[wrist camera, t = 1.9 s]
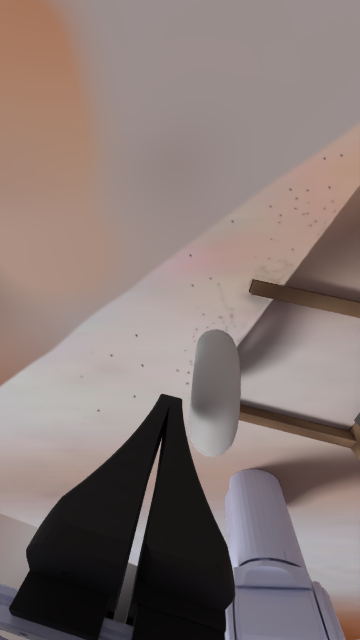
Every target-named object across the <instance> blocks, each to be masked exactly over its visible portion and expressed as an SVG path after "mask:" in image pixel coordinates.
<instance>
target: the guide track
mask: <svg viewBox="0 0 360 640" xmlns="http://www.w3.org/2000/svg"><path fill="white" fill-rule="evenodd" d="M249 292H250V293H251V294H252V295H257V296H262V297H266V298H271V299H275V300H280V301H285V302H289V303H294V304H298V305H303V306H308V307H312V308H317V309H321V310H326V311H331V312H335V313H340V314H344V315H349V316H354V317H358V318H360V302H358V301H353V300H348V299H344V298H339V297H334V296H329V295H325V294H320V293H315V292H311V291H306V290H301V289H297V288H292V287H287V286H282V285H278V284H273V283H268V282H264V281H259V280H254V279H253V281H252V284H251V287H250V289H249ZM239 420H241V421H245V422H249V423H253V424H257V425H261V426H265V427H269V428H273V429H277V430H281V431H285V432H288V433H292V434H296V435H300V436H304V437H308V438H312V439H316V440H320V441H324V442H328V443H332V444H336V445H340V446H344V447H348V448H351V449H352V451H353V452H354V453H355V455H356V456H357V457H358V459H359V460H360V414H359V415H358V416H357V418H356V419H355V420H354V421H355V422H356V423H355V424H354V426H353V427H352V428H351V429H350V431H349V432H348V431H344V430H340V429H336V428H332V427H328V426H324V425H320V424H316V423H312V422H308V421H304V420H300V419H296V418H292V417H288V416H284V415H280V414H276V413H272V412H268V411H264V410H260V409H256V408H252V407H248V406H244V405H240V413H239Z"/></svg>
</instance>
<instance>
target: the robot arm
mask: <svg viewBox="0 0 360 640" xmlns="http://www.w3.org/2000/svg"><path fill="white" fill-rule="evenodd" d="M161 439H162V442H161ZM160 442H161V449H160V456H159V463H158V470H157V477H156V482H155V488H154V493H153V497H152V502H151V506H150V511H149V516H148V520H147V525H146V529H145V534H144V539H143V543H142V548H141V552H140V557H139V561H138V566H137V571H136V575H135V580H134V584H133V589H132V594H131V598H130V603H129V607H128V611H127V616H126V620H125V624H124V623H121V622H118V621H115V620H113V617H114V613H115V610H116V609H117V605H118V600H119V597H120V593H121V588H122V585H123V581H124V576H125V572H126V568H127V564H128V560H129V556H130V552H131V548H132V544H133V540H134V536H135V532H136V527H137V523H138V519H139V515H140V511H141V507H142V503H143V499H144V495H145V491H146V487H147V483H148V480H149V476H150V473H151V470H152V467H153V464H154V461H155V458H156V455H157V452H158V448H159V445H160ZM229 485H230V487H229V491H228V493H227V495H226V497H225V510H226V523H227V536H228V547H227V544H226V542H225V540H224V538H223V536H222V534H221V532H220V529H219V527H218V525H217V523H216V521H215V519H214V516H213V514H212V512H211V509H210V507H209V505H208V502H207V500H206V497H205V494H204V492H203V489H202V487H201V484H200V481H199V479H198V476H197V473H196V470H195V466H194V463H193V460H192V456H191V453H190V449H189V445H188V441H187V436H186V431H185V426H184V420H183V411H182V399H181V398H177V397H173V396H169V395H165V394H161V395H160V397H159V399H158V401H157V402H156V404H155V406H154V407H153V409H152V410H151V412H150V413H149V415H148V416H147V417H146V419H145V420H144V421H143V423H142V424H141V425H140V426H139V427H138V429H137V430H136V431H135V432H134V433H133V435H132V436H131V437H130V438H129V439H128V440H127V441H126V442H125V443H124V444H123V445H122V446H121V447H120V448H119V449H118V450H117V451H116V452H115V453H114V454H113V455H112V456H111V457H110V458H109V459H108V460H107V461H106V462H105V463H104V464H102V465H101V466H100V467H99V468H98V469H97V470H95V471H94V472H93V473H92V474H91V475H90V476H89V477H87V478H86V479H85V480H84V481H82V482H81V483H80V484H78V485H77V486H76V487H74V488H73V489H72V490H71V491H69V492H68V493H67V494H65V495H64V496H63V497H62V498H61V499H60V500H59V501H58V502H57V504H56V505H55V506H54V507H53V509H52V510H51V511H50V513H49V514H48V515H47V517H46V518H45V520H44V521H43V522H42V524H41V525H40V527H39V529H38V530H37V532H36V534H35V535H34V537H33V539H32V540H31V542H30V544H29V545H28V547H27V549H26V556H27V561H28V564H29V568H30V571H29V572H28V574H27V576H26V578H25V580H24V582H23V583H22V585H21V587H20V589H19V590H18V589H15V588H12V587H9V586H6V585H3V584H0V630H3V631H6V632H9V633H12V634H15V635H18V636H21V637H24V638H27V639H30V640H225V639H224V632H225V637H226V640H346V639H345V637H344V634H343V631H342V629H341V626H340V623H339V620H338V618H337V615H336V612H335V610H334V607H333V604H332V602H331V599H330V596H329V594H328V592H327V591H326V590H325V589H324V588H323V587H321V585H320V583H319V582H316V581H313V583H312V581H311V578H310V576H309V574H308V572H307V569H306V565H305V562H304V559H303V556H302V553H301V550H300V546H299V543H298V540H297V537H296V534H295V531H294V528H293V524H292V521H291V518H290V515H289V512H288V509H287V506H286V502H285V499H284V496H283V493H282V490H281V487H280V484H279V481H278V480H277V478H276V477H275V476H273V475H272V474H270V473H268V472H266V471H263V470H258V469H247V470H242V471H239V472H237V473H235V474H234V475H233V476H232V477H231V478H230V482H229ZM228 548H229V551H228ZM229 555H230V556H229ZM230 559H231V560H230ZM231 562H232V565H233V567H234V568H233V569H234V576H233V570H232V565H231ZM0 640H8V639H6V638H3V637H1V636H0Z"/></svg>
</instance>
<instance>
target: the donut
mask: <svg viewBox="0 0 360 640" xmlns="http://www.w3.org/2000/svg"><path fill="white" fill-rule="evenodd" d="M240 396H241V375H240V362H239V356H238V350H237V347H236V345H235V343H234V341H233V339H232V337H231V336H230V335H229V334H228V333H226V332H224V331H222V330H210V331H207V332H205V333H204V334H203V335H202V336H201V337H200V338H199V340H198V342H197V346H196V353H195V362H194V371H193V381H192V392H191V404H190V418H189V435H190V438H191V441H192V443H193V445H194V446H195V448H196V449H197V450H198V451H199V452H200V453H202V454H203V455H206V456H209V457H217V456H219V455H221V454H223V453H224V452H225V451H226V450H227V449H228V448H229V447H230V446H231V445H232V443H233V441H234V438H235V435H236V431H237V427H238V420H239V413H240Z"/></svg>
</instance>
